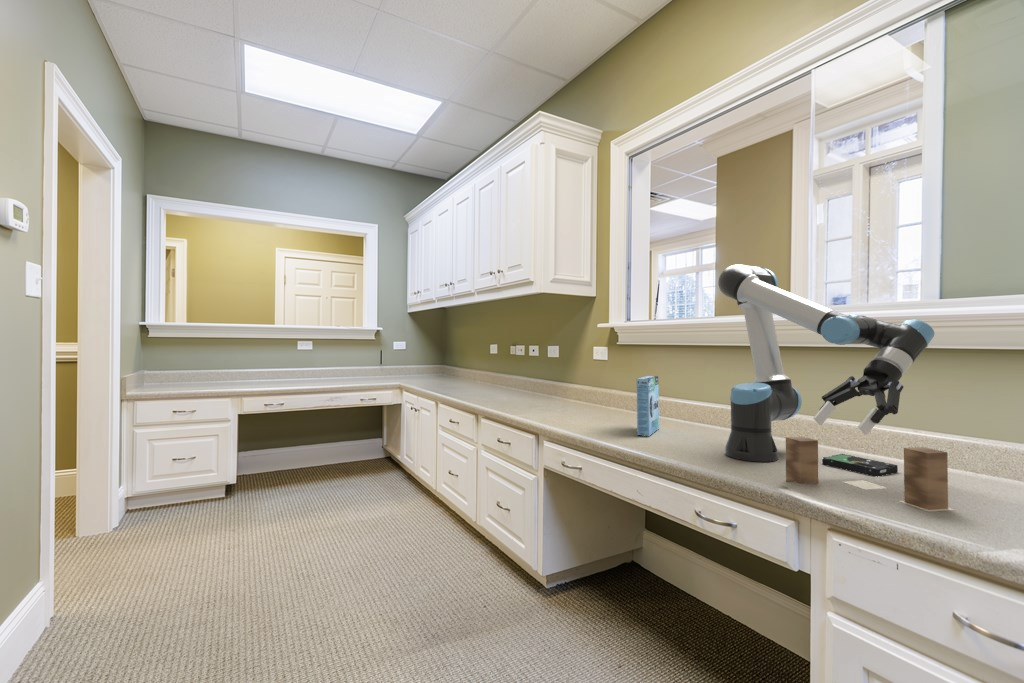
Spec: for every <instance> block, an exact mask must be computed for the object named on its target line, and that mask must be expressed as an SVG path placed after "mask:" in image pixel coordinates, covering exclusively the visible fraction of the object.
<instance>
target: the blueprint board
mask: <svg viewBox="0 0 1024 683" xmlns="http://www.w3.org/2000/svg"><path fill="white" fill-rule="evenodd" d="M843 483H845V484H847V485H850V486H853V487H856V488H859V489H862V490H865V491H866V490H867V491H868V490H884V489H887V487H886V486H882V485H879V484H876V483H874V482H870V481H866V480H863V479H861V480H849V481H848V480H847V481H843ZM898 502H900V503H901V504H902V503H903V504H905V505H909V506H911V507H914V508H917V509H920V510H922V511H926V512H942V511H945V512H946V511H955V509H953V508H951V507H948V509H935V510H927V509H924V508H921V507H918V506H915V505H912V504H909V503H906V502H904V500H898Z"/></svg>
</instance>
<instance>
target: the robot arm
mask: <svg viewBox="0 0 1024 683" xmlns="http://www.w3.org/2000/svg"><path fill="white" fill-rule="evenodd" d="M717 282H718V285H717V286H718V289H719V290H720V292H721V293H722V294H723V295H725V296H726V297H727V298H731V299H733V300H735V301H736V302H737V303H736V304H737V308H739V309H741V310H742V311H743V314H744V315H743V316H744V320H745V326H746V331H747V336H748V342H749V347H750V352H751V358H752V361H753V362H752V365H753V369H754V374H755V378H754V380H753V381H752V382H748V383H745V382H743V383H739V384H736V385H734V386H732V387H731V390H730V395H729V396H730V397H729V399H730V432H729V433H730V434H729V436H728V439H727V442H726V445H725V447H724V448H725V455H726V456H728V457H730V458H733V459H737V460H741V461H749V462H756V463H757V462H758V463H759V462H763V463H764V462H765V463H766V462H768V463H769V462H774V461H775V462H776V461H777V460H779V450H778V449H777V445H776V442H775V439H774V438H773V433H772V422H775V421H785V420H788V419H790V418H791V419H792V418H793V417H794V416H796V415H797V414H798V413H799V411H800V410H801V407H802V402H803V401H802V396H801V394H800V392H799V391H798V390H797V389H796V388H795V387H794V386H793V385H792V380H791V378H790V377H789V376H787V375H786V374H785V371H784V365H783V362H782V356H781V352H780V346H779V341H778V336H777V331H776V325H775V321H774V316H773V314H774V315H777V316H778V317H781V318H783V319H785V320H787V321H790V322H791V323H794V324H796V325H798V326H801V327H803V328H805V329H807V330H810V331H812V332H814V333H817V334H819V335H820V336H822V338H823V339H824V340H825V341H826V342H828V343H831V344H835V345H839V346H841V345H843V346H844V345H867V346H870V347H873V348H877V349H879V351H877V353H876V354H875V355H874V356H873V357H872V359H871V361H870V362H868V364H867V365H866V366H865V368H863V374H862V376H861V377H860V378H855V376H853V375H850V376H849V377H848V378H847V379H846V380H845V381H844V382H842V383H840V384H839V385H837V386H836V387H835V388H833V389H832V390H830V391H828V392H827V393H825V394H824V395H822V396H821V399H822V401H824V403H823V404H822V406H821V407H820V408H818V409H819V411H818V412H817V413H816V414H815V415H814V416H813V420H814V421H815V422H816V423H817V424H818V425H819V426H822V425H823V424H824V423H825V422H826V420H828V418H829V417H830V416H831V414H832V413H833V412H834V411H835V410H836V407H835V406H838V405H840V404H842V403H844V402H847V401H849V400H851V399H853V398H855V397H862V396H871V397H874V399H875V402H876V403H875V404H876V405H875V406H876V407H872V409H871V410H870V411H869V412H868V413H867V414H866V416H865V417H864V418H863V419H862V421H861V422H860V423H859V424H858V425H857V428H858V429H859V430H860V431H861V432H862V433H863V434H864V435H867V436H868V434H870V432H871V431H872V429H874V427H875V426H876V424H879V423H880V422H881V421H882V420H883V418H884V417H885V416H887V415H889V414H892V415H896V414H898V413H899V407H900V406H899V405H900V398H901V397H900V396H901V393H902V391H903V389H904V385H903V384H902V383H901V382H900V381H899V380H901V378H902V376H903V375H904V374H905V373H906V372H907V371H908V370H909V368H910V367H911V366H912V364H914V362H915V361H916V359H917V358H918V357H920V355H921V354H922V353H923V352H924V350H926V349H927V348H928V347H929V344H930V343H931V341H932V339H933V338H934V337H935V330H934V328H933V327H932V326H931V325H930V324H929V323H927V322H925V321H922V320H920V319H915V318H914V319H907V320H904V321H903V322H901V324H896V323H890V322H886V321H883V320H879V319H876V318H872V317H868V316H866V315H859V314H856V313H855V314H852V313H850V314H848V315H846V314H844V313H841V312H839V311H835V310H834V309H831V308H829V307H826V306H824V305H821V304H818V303H816V302H815V301H812V300H809V299H806V298H804V297H801V296H799V295H796V294H794V293H792V292H790V291H786V290H784V289H781V288H780V287H779V282H778V278H777V276H776V275H775V273H774V271H771V269H768V268H765V267H763V266H760V265H759V266H757V265H755V266H752V265H746V264H739V263H738V264H733V265H732V264H731V265H729V266H727V267H726V268H725V269H723V271H722V272H721V273H720V275H719V277H718V281H717ZM856 388H857V389H856ZM885 391H888V392H887V397H886V393H885ZM886 398H887V399H886Z"/></svg>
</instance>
